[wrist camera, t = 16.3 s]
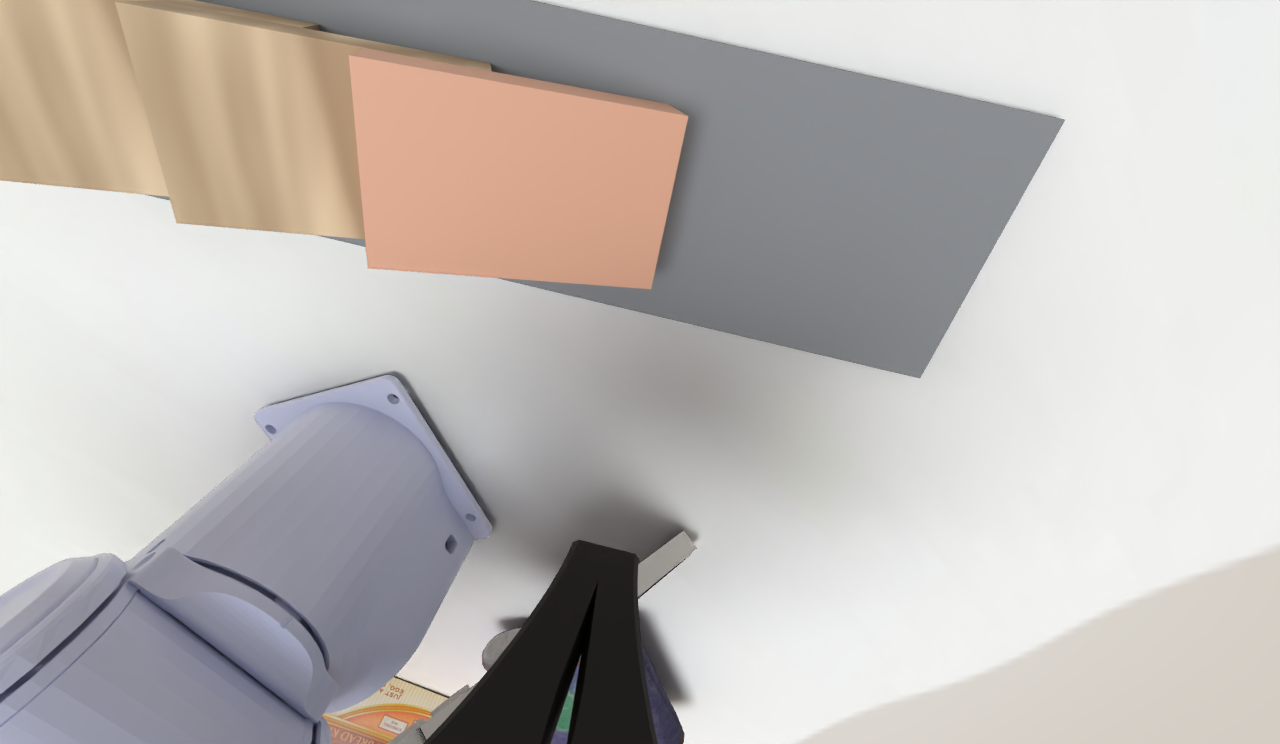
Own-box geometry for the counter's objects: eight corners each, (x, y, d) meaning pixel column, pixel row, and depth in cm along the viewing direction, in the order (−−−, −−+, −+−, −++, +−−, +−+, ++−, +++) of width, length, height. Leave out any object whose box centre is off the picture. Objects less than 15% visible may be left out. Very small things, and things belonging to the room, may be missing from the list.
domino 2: (491, 70, 14) (114, 1, 12) (485, 249, 17) (176, 223, 14) (490, 62, 16) (157, 0, 13) (484, 227, 18) (206, 200, 16)
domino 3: (688, 116, 14) (348, 54, 12) (650, 289, 17) (368, 268, 14) (667, 103, 16) (364, 48, 13) (636, 263, 18) (379, 240, 16)
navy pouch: (535, 764, 32) (456, 646, 28) (550, 714, 35) (480, 598, 30) (684, 765, 29) (623, 635, 25) (688, 711, 32) (634, 585, 28)
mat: (1057, 118, 15) (1065, 119, 14) (916, 372, 19) (919, 378, 19) (-83, -137, 16) (-102, -141, 15) (36, 164, 20) (24, 166, 20)
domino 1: (302, 27, 14) (-110, -50, 12) (325, 211, 17) (-8, 179, 15) (319, 23, 16) (-42, -45, 13) (338, 193, 19) (39, 161, 16)
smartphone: (607, 619, 29) (307, 868, 16) (594, 600, 29) (291, 828, 17) (703, 544, 25) (400, 798, 12) (686, 522, 25) (376, 748, 13)
